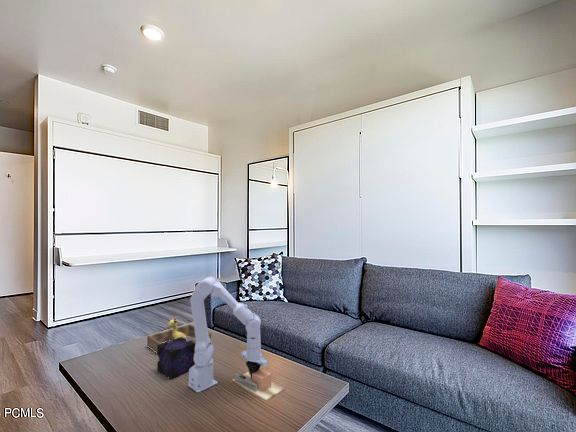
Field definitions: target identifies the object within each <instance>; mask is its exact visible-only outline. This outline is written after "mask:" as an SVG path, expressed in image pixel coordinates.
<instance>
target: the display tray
mask: <svg viewBox="0 0 576 432" xmlns="http://www.w3.org/2000/svg"><path fill="white" fill-rule="evenodd" d="M172 330H173V328H172V329H171V328H170V329H168V330H165V331H161V332H158V333H154V334H151V335H147V339H146V341H147V343H146V344H147V345H148V346H149V347H150V348H152V349H153V350H154V351H156V352H157V345H159V344H162V342H165V341H169V340H173V338H172ZM177 331H178V332H181V333H184V334H185V335H186V337H187V335H188V336H190V337H195V330H194V324H190V323H189V324H185V325H183V326H178V327H177ZM208 336H209V338H210V339H211V340H212V333H210V332H209V331H208ZM189 341H192V342H194V343H195V345H196V337H195V338H194V339H191V340H188V342H189ZM147 345H146V346H147ZM154 351H153V352H154Z"/></svg>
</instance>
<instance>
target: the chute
mask: <svg viewBox="0 0 576 432" xmlns="http://www.w3.org/2000/svg"><path fill="white" fill-rule="evenodd" d="M231 382H233V383H234V384H237V385H238V386H240V387H242V388H243V389H244V390H246V391H248V392H249V393H251V394H254V395H255V396H257V397H259V398H260V399H262V400H264V401H266V402H268V401H269V400H270V399H272V398H274V397H275V396H277V395H279V394H280V393H282V392H283V391H285V387H283V386H281V385H279V384H277V383H276V382H273V381H271V387H269V388H267V389H266V390H264V391H260V390H259V389H257V384H256V383H254V382H252V379H251V375H250V372H249V371H247V372H245V373H243V374H239V373H235V374H234V378H233V379H232V380H231Z"/></svg>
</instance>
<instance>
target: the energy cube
mask: <svg viewBox="0 0 576 432" xmlns="http://www.w3.org/2000/svg"><path fill="white" fill-rule="evenodd" d="M156 354H157V356H158V361H156V362H157V364H156V365H157V367H156V368H157V370H158V371H159V372H161V373H164V374H163V375H165V377H166V376H167V377H169V378H170V379H172V380H174V379H173V378H175V379H177V378H179V377H181V376H180V375H182V374H184V373H186V372H188V373H189V369H190V368H191V367H192V366H194V365H195V362H194V355H195V343H194V342H192V341H189V342H188V341H186V339H185V338H183V337H180V338H177V339H174V340H173V341H172V342H169V343H167V342H165V343H162V344H159V345H157V353H156ZM157 370H156V371H157ZM158 371H157V372H158ZM159 372H158V373H159ZM161 373H160V374H161ZM178 376H179V377H178ZM167 377H166V378H167ZM176 377H177V378H176ZM169 378H168V379H169ZM170 379H169V380H170Z"/></svg>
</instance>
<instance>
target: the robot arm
mask: <svg viewBox="0 0 576 432" xmlns="http://www.w3.org/2000/svg"><path fill="white" fill-rule="evenodd" d="M209 295H210V297H214V298H215V297H218V298H219V299H221V300H222V301H223V303H225V304H226V305H227V306H229V307H230V308H231V309H232V314H233V316H235V317H236V318H237V320H239V321H240V322H241V323H242V325H244V326H245V330H246V350H244V351H241V352H240V355H241V358H245V359H246V360H247V361H246V362H245V365H246V367H247V369H248V372H250V375H251V379H252V373H254V372H256V371H258V370H260V368H261V366H262V367H263V368H266V367H268V360H267V359H265V358H264V357H263V353H261V352H262V348H261V347H262V345H261V344H262V343H261V341H262V340H261V325H262V320H261V318H260V316H259V315H258V314H256V313H255V312H253V311H251V310H250V309H249V308H248V305H247V303H245V304H244V303H243V302H241V303H240V302H238V301H237V300H236V299H235V298H234V297H233V296H232V294H231V293H230V292H229V291H228V290H227V289H226V288H225V287H224V286H223V284H222V283H221V282H220V281H219V280H217V278H216V277H214V276H206V277H205V278H204V279H203V280H200V281H199V282H198V283H197V284H196V285H195V287H194V290H193V292H192V295H191V296H190V301H189V302H190V307H191V315H192V321H193V326H194V330H195V337H196V345H195V353H194V362H195V365H194V366H192V367H191V368H190V369H189V372H188V384H187V387H189V388H190V389H192V390H193V391H195V392H196V393H200V392H203V391H204V390H206V389H209V388H211V387H212V386H215V385H217V384H218V381H217V380H215V379H214V359H213V355H214V353H215V347H214V345H213V343H212V338H211V339H210V338H209V336H208V332H209V330H208V323H207V322H208V321H207V316H206V309H205V307H206V306H205V300H206V298H207V297H208V296H209Z"/></svg>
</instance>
